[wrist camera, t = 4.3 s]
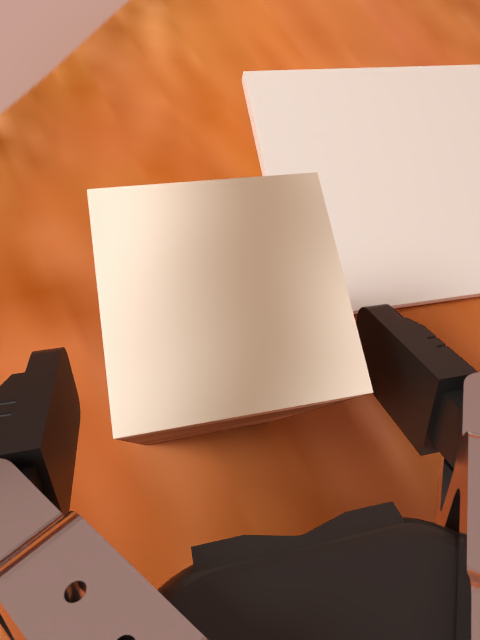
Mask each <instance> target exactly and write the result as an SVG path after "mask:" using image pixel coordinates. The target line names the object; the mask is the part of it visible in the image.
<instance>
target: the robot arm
mask: <svg viewBox="0 0 480 640" xmlns="http://www.w3.org/2000/svg"><path fill="white" fill-rule="evenodd" d="M356 326H357V330H358V334H359V338H360V342H361V345H362V349H363V353H364V357H365V361H366V365H367V369H368V373H369V377H370V381H371V385H372V389H373V394H374V396H375V397H376V398H377V400H378V401H379V402H380V403H381V405H382V406H383V407H384V409H385V410H386V411H387V413H388V414H389V415H390V416H391V418H392V419H393V420H394V422H395V423H396V424H397V425H398V427H399V428H400V429H401V431H402V432H403V433H404V435H405V436H406V437H407V438H408V440H409V441H410V442H411V444H412V445H413V446H414V448H415V449H416V450H417V451H418V453H419V454H420V455H426V454H431V453H436V452H440V453H441V454H442V456H443V459H442V462H441V466H440V477H439V490H438V502H437V514H436V524H435V523H432V522H428V521H424V520H420V519H413V518H406V517H402V516H401V515H400V513H399V511H398V510H397V508H396V507H395V505H394V503H393V502H388V503H383V504H379V505H375V506H370V507H366V508H361V509H357V510H352V511H348V512H345V513H343V514H341V515H339V516H338V517H336V518H334V519H332V520H330V521H328V522H326V523H324V524H323V525H321V526H319V527H317V528H315V529H313V530H311V531H309V532H308V533H306V534H303V535H300V536H269V535H242V536H237V537H233V538H229V539H224V540H220V541H215V542H211V543H207V544H202V545H198V546H193V547H191V550H192V557H193V565H191V566H189V567H188V568H186V569H184V570H182V571H181V572H179V573H178V574H176V575H175V576H174V577H172V578H171V579H169V580H168V581H167V582H166V583H165V584H164V585H162V586H161V587H160V588H159V589H158V590H156V589H155V588H154V587H153V586H152V585H151V584H150V583H149V582H148V581H147V580H146V579H145V578H144V577H143V576H142V575H141V574H140V573H139V572H138V571H137V570H136V569H135V568H134V567H133V566H132V565H131V564H130V563H129V562H128V561H126V560H125V559H124V558H123V557H122V556H121V555H120V554H119V553H118V552H117V551H116V550H115V549H114V548H113V547H112V546H111V545H110V544H109V543H108V542H107V541H106V540H105V539H104V538H103V537H102V536H101V535H100V534H99V533H98V532H97V531H96V530H95V529H94V528H93V527H91V526H90V525H89V524H88V523H87V522H86V521H85V520H84V519H83V518H82V517H81V516H80V515H79V514H77V513H76V512H74V511H70V512H69V508H70V500H71V492H72V483H73V475H74V467H75V459H76V450H77V442H78V434H79V426H80V403H79V397H78V393H77V389H76V385H75V381H74V378H73V374H72V370H71V366H70V362H69V358H68V355H67V352H66V350H65V348H64V347H62V348H55V349H48V350H40V351H33V352H32V353H31V356H30V359H29V362H28V365H27V368H26V371H25V373H18V374H12V375H11V376H10V377H9V378H8V379H7V380H6V381H5V382H4V383H3V384H2V385H1V386H0V627H1V628H2V630H3V631H4V633H5V634H6V636H7V637H8V639H9V640H480V372H477V371H476V370H475V369H474V368H473V367H472V366H470V365H469V364H468V363H467V362H466V361H464V360H463V359H462V358H461V357H460V356H459V355H457V354H456V353H455V352H454V351H453V350H452V349H450V348H449V347H448V346H447V347H446V346H445V343H443V342H442V341H441V340H440V339H439V338H436V336H435V335H434V334H433V333H432V332H430V331H429V330H428V329H427V328H426V327H425V326H423V325H421V324H419V323H417V322H415V321H412V320H410V319H408V318H404V317H403V316H402V315H400V314H399V313H398V312H397V311H396V310H395V309H394V308H392V307H391V306H390V305H389V304H381V305H374V306H366V307H361V308H360V309H359V311H358V314H357V322H356Z"/></svg>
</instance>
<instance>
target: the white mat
mask: <svg viewBox="0 0 480 640" xmlns="http://www.w3.org/2000/svg"><path fill="white" fill-rule="evenodd" d="M242 85H243V89H244V94H245V98H246V103H247V107H248V112H249V117H250V121H251V126H252V130H253V135H254V139H255V144H256V148H257V153H258V158H259V162H260V167H261V171H262V176H273V175H287V174H300V173H314V172H317V173H318V177H319V181H320V185H321V189H322V192H323V196H324V200H325V204H326V208H327V212H328V216H329V220H330V224H331V228H332V232H333V236H334V240H335V243H336V247H337V251H338V255H339V259H340V263H341V267H342V271H343V275H344V279H345V283H346V287H347V291H348V294H349V298H350V302H351V306H352V310H353V314H358V311H359V309H360V308H361V307H366V306H374V305H381V304H389V305H390V306H391V307H392V308H401V307H409V306H416V305H423V304H430V303H437V302H444V301H451V300H458V299H465V298H472V297H480V65H450V66H415V67H380V68H345V69H310V70H275V71H243V77H242Z"/></svg>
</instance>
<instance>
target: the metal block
mask: <svg viewBox="0 0 480 640" xmlns="http://www.w3.org/2000/svg"><path fill="white" fill-rule="evenodd" d="M87 194H88V204H89V213H90V223H91V232H92V242H93V251H94V260H95V270H96V279H97V289H98V298H99V308H100V317H101V327H102V336H103V346H104V355H105V365H106V374H107V384H108V393H109V403H110V412H111V422H112V431H113V439H117V440H122V441H127V442H132V443H137V444H142V445H147V444H153V443H158V442H164V441H169V440H175V439H180V438H186V437H191V436H197V435H202V434H208V433H213V432H218V431H224V430H229V429H235V428H240V427H246V426H251V425H257V424H262V423H268V422H271V421H275V420H278V419H282V418H285V417H289V416H292V415H296V414H300V413H303V412H307V411H310V410H314V409H317V408H321V407H324V406H328V405H331V404H335V403H338V402H342V401H345V400H349V399H352V398H356V397H359V396H363V395H366V394H370V393H373V389H372V385H371V381H370V377H369V373H368V369H367V365H366V361H365V357H364V353H363V349H362V345H361V342H360V338H359V334H358V330H357V326H356V322H355V318H354V314H353V310H352V306H351V302H350V298H349V294H348V291H347V287H346V283H345V279H344V275H343V271H342V267H341V263H340V259H339V255H338V251H337V247H336V243H335V240H334V236H333V232H332V228H331V224H330V220H329V216H328V212H327V208H326V204H325V200H324V196H323V192H322V189H321V185H320V181H319V177H318V173H317V172H314V173H300V174H287V175H273V176H260V177H247V178H233V179H220V180H206V181H193V182H179V183H166V184H152V185H139V186H126V187H112V188H99V189H87Z"/></svg>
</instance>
